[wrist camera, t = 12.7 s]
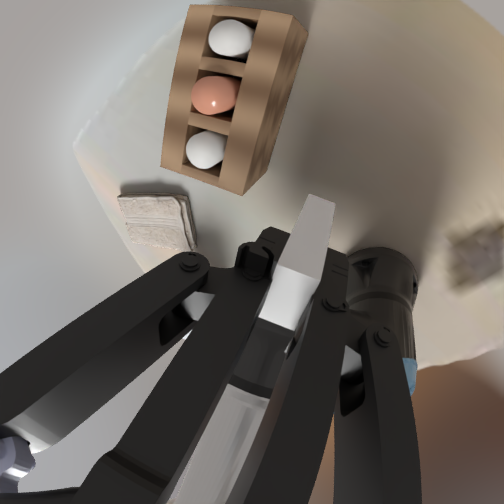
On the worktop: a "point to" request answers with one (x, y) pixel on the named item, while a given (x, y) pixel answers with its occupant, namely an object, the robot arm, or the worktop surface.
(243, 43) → the grey plug
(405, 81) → the worktop surface
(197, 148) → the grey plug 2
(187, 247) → the washcloth
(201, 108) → the terracotta plug
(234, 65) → the walnut socket block
